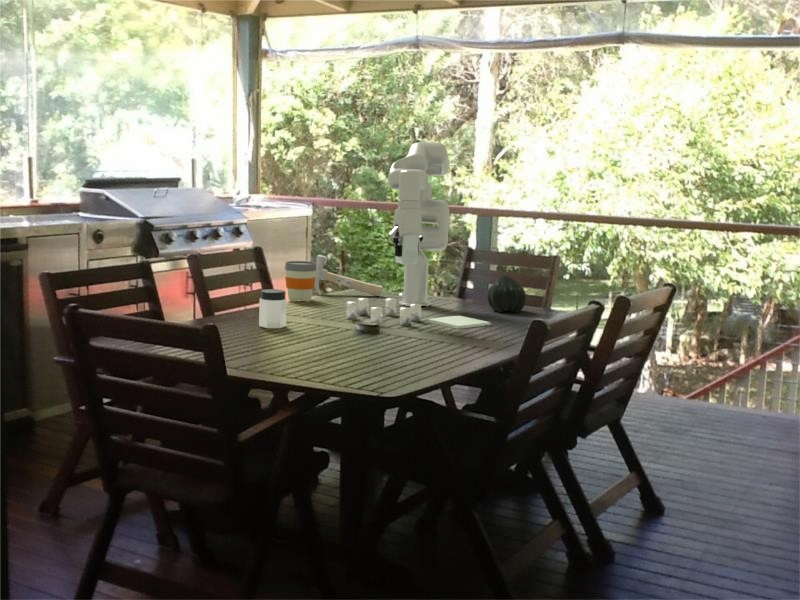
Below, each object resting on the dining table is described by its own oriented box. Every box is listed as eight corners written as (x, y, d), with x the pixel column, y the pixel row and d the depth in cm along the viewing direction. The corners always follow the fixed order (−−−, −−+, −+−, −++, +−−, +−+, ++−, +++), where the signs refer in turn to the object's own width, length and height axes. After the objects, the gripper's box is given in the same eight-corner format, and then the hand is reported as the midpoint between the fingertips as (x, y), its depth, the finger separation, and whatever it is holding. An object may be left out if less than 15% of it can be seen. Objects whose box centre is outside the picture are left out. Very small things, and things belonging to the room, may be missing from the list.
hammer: (386, 273, 382) (318, 254, 383) (385, 274, 377) (316, 255, 378) (376, 309, 384) (309, 289, 385) (375, 310, 380) (307, 291, 381)
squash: (525, 302, 344) (526, 270, 353) (485, 301, 347) (487, 269, 355) (525, 322, 356) (526, 290, 364) (487, 321, 358) (489, 289, 367)
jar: (284, 324, 307) (285, 289, 306) (287, 328, 300) (288, 292, 298) (257, 324, 305) (258, 288, 303) (260, 328, 297) (260, 292, 296)
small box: (417, 264, 318) (419, 234, 317) (402, 264, 316) (404, 234, 315) (409, 262, 326) (410, 232, 324) (395, 262, 324) (396, 232, 322)
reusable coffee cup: (295, 303, 354) (296, 265, 352) (278, 298, 363) (278, 261, 361) (321, 301, 362) (322, 263, 360) (304, 296, 371) (305, 260, 369)
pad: (427, 321, 324) (427, 318, 324) (459, 318, 334) (459, 315, 334) (457, 328, 312) (458, 326, 312) (490, 325, 322) (490, 322, 322)
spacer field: (335, 316, 328) (335, 299, 327) (382, 311, 342) (383, 296, 341) (384, 328, 306) (384, 311, 306) (432, 323, 321) (433, 306, 320)
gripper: (420, 204, 326) (418, 254, 329) (382, 204, 315) (380, 255, 318) (434, 206, 320) (432, 256, 323) (395, 206, 310) (393, 258, 312)
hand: (406, 255), depth 321 cm, fingers closed on small box, 6 cm apart
